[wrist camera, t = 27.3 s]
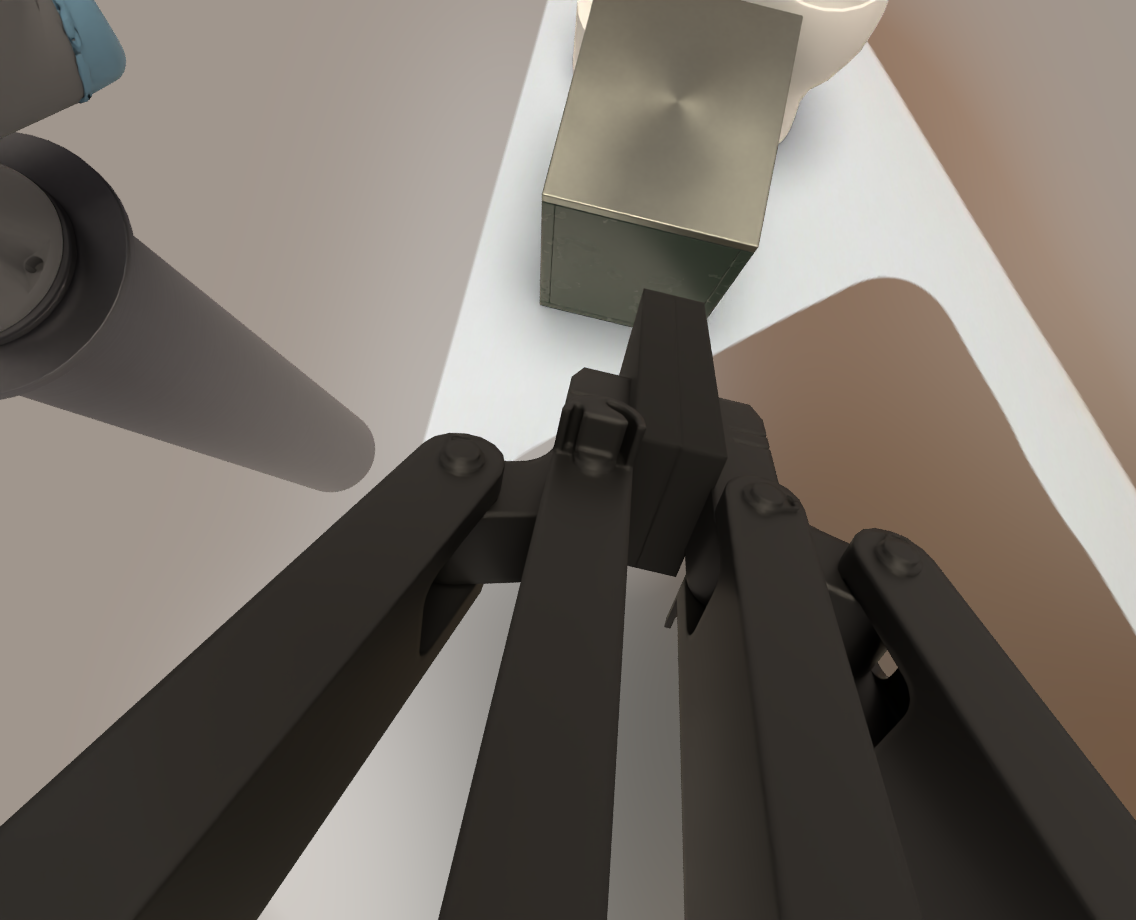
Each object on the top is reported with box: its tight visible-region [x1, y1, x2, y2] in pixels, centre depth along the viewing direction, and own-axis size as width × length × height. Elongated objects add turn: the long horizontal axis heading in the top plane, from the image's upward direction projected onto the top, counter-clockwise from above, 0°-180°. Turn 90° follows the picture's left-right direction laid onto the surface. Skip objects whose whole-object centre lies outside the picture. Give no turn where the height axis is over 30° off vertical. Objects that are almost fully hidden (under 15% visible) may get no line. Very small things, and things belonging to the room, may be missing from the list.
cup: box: [742, 0, 888, 144], centre depth 47 cm, size 11×11×15 cm
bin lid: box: [542, 0, 803, 253], centre depth 37 cm, size 16×13×1 cm
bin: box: [540, 201, 754, 327], centre depth 45 cm, size 15×13×15 cm
